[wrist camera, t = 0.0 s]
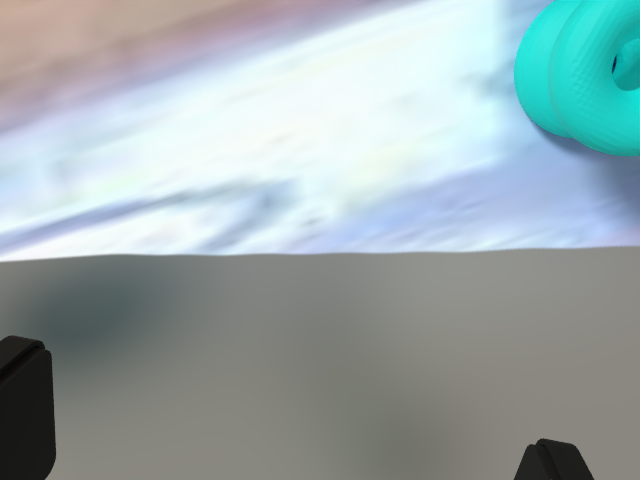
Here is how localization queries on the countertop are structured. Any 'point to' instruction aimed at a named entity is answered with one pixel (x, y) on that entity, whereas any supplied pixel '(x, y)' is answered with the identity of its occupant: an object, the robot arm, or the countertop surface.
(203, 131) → the countertop surface
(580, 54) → the donuts
